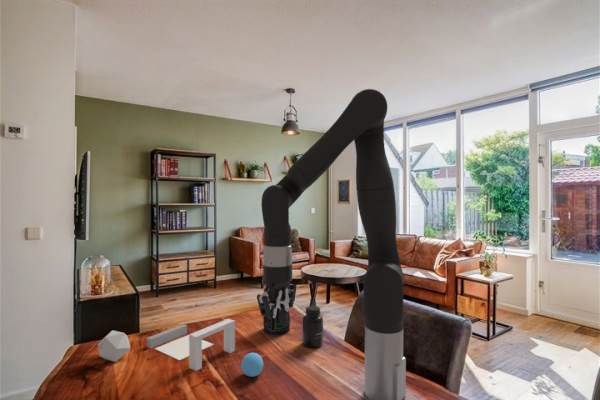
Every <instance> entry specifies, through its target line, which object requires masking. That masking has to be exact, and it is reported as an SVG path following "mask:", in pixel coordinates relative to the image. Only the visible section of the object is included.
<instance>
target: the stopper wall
mask: <svg viewBox="0 0 600 400" xmlns="http://www.w3.org/2000/svg"><path fill="white" fill-rule="evenodd" d="M187 335H188V324H180V325H178V326H175V327H173V328H169V329H167V330H164V331H162V332H159V333H157V334H154V335H151V336H148V337H146V346H147V348H149V349H153V348H157V347H159V346H162V345H164V344H167V343H169V342H172V341H174V340H177V339H179V338H182V337H184V336H187Z"/></svg>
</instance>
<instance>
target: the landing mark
mask: <svg viewBox="0 0 600 400" xmlns="http://www.w3.org/2000/svg"><path fill="white" fill-rule="evenodd" d="M212 346H214V343H211V342H210V341H206V340H204V339H202V351H203V350H206V349H207V348H210V347H212ZM154 350H156V351H158V352H160V353H162V354H164V355H166V356H168V357H171V358H173V359H175V360H178V361H182V360H184V359H186V358H189V334H186V335H183V336H181V337H178V338H176V339H174V340H171V341H169V342H166V343H164V344H161V345H159V346H156V347H154Z"/></svg>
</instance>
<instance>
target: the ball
mask: <svg viewBox="0 0 600 400" xmlns="http://www.w3.org/2000/svg"><path fill="white" fill-rule="evenodd" d="M240 366H241V368H240V369H241V370H242V372H243V374H244V375H245V376H247V377H251V378H253V377H256V376H258V375H259V374H260V373H262V371H263V369H264V360H263V358H262V356H261V355H260V354H258V353H256V352H250V353H247V354H246V355H244V357H243V358H242V360H241V363H240Z"/></svg>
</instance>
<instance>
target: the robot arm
mask: <svg viewBox="0 0 600 400" xmlns="http://www.w3.org/2000/svg"><path fill="white" fill-rule="evenodd" d="M387 113H388V101H387V99H386V97H385V95H384V94H383V93H382V92H381V91H380V90H377V89H373V88H368V89H367V88H366V89H363V90H361V91H359V92H357V93H356V94H355V95H354V96H353V97H352V99H351V100H350V102H349V103H348V104H347V106H346V107H345V109H344V110H343V111H342V113H341V114H340V115H339V117H338V118H337V119H336V121H335V122H334V123H333V124H332V125H331V126H330V127H329V129H327V131H326V132H325V133H324V134H323V135H321V137H320V138H319V139H318V140H317V141H315V143H313V145H312V146H311V147H309V149H307V151H305V152H304V153H303V154H302V155H301V156H300V157H299V158H298V159H297V160H296V161H295V162H294V163H293V164H292V165H291V166H290V168H289V169H287V173H286V174H285V175H284V176H283V177H282V178H281V179H280V181H278V182H277V183H276V184H274V185H273V184H272V185H270V186H267V188H265V189H264V191H263V193H262V195H261V205H260V206H261V213H262V221H263V226H264V230H263V240H264V241H263V251H262V252H263V253H262V254H263V255H262V275H263V276H262V279H263V282H264V283H265V288H264V289H265V292H264V291H263V293H262V294H260V293H259V294H257V295H256V300H257V304H258V308H259V311H260V315H261V316H262V317H263V316H265V317H267V328H268V331H270V332H275V331H276V313H277V309H278V308H279V309H280V310H281V311H279V325H281V326H284V327H285V326H287V321H288V311H289V312H290V308H293V307H294V303H295V297H296V292H297V285H296V284H293V283H291V281H292V280H293V250H292V228H291V225H290V222H289V221H290V217H289V216H290V213H289V212H290V207H292V206H293V205H294V203H295V202H297V201H298V199H299V198H300V197H301V196H302V195H303V193H304V192H305V191H306V190H307V189H309V188H310V187H311V186H312V185H313V184H314V183H315V182H316V181H317V180H318V179H320V178H321V176H322V175H324V173H325V172H326V171H327V170H329V168H330V167H331V166H332V165H333V164H334V163H335V161H336V160H337V159H338V157H339V156H340V155H341V154H342V153H343V152H344V150H345V149H346V148H347V147H349V145H350V144H352V142H353V141H354V146H355V152H356V153H355V154H356V158H355V159H356V160H355V161H356V162H355V185H356V197H357V206H358V212H359V216H360V220H361V221H360V222H361V224H362V226H363V231H364V234H365V237H366V242H367V271H366V273H365V275H364V277H363V317H364V394H365V397H366V398H367V399H368V400H403V399H404V398H405V397H406V394H407V393H406V392H407V391H406V390H407V389H406V385H407V383H406V382H407V379H406V378H407V377H406V375H407V368H406V367H407V359H406V356H404V284H405V283H404V282H405V277H404V272H403V269H402V265H401V260H400V255H399V251H398V246H397V207H396V206H397V205H396V195H395V194H396V193H395V185H394V179H393V175H392V171H391V167H390V163H389V161H388V156H387V154H386V148H385V134H384V133H385V130H384V128H385V119H386V117H387ZM289 297H290V302H289ZM271 302H272V303H275V304H271ZM271 307H272V308H273V310H272V312H271ZM265 310H266V311H265Z"/></svg>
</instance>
